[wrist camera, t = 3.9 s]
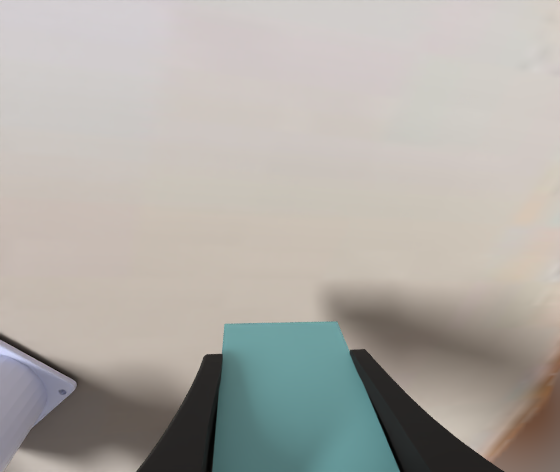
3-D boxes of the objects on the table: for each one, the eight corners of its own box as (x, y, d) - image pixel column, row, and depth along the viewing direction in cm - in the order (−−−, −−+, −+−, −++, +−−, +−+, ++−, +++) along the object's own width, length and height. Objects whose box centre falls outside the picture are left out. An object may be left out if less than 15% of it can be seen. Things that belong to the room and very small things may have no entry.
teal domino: (332, 349, 15) (399, 536, 9) (225, 352, 14) (210, 555, 8) (337, 321, 14) (412, 501, 8) (224, 323, 14) (208, 519, 7)
